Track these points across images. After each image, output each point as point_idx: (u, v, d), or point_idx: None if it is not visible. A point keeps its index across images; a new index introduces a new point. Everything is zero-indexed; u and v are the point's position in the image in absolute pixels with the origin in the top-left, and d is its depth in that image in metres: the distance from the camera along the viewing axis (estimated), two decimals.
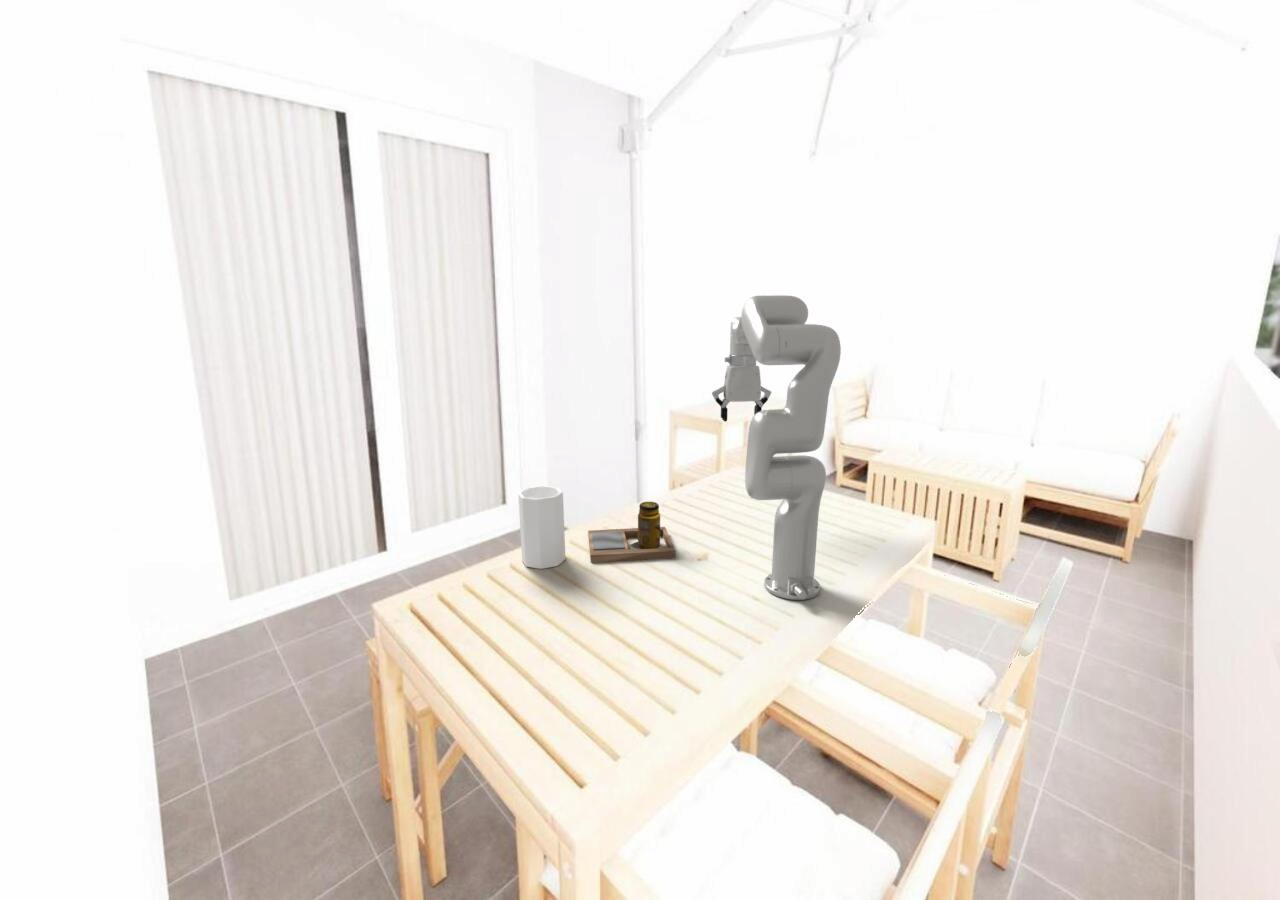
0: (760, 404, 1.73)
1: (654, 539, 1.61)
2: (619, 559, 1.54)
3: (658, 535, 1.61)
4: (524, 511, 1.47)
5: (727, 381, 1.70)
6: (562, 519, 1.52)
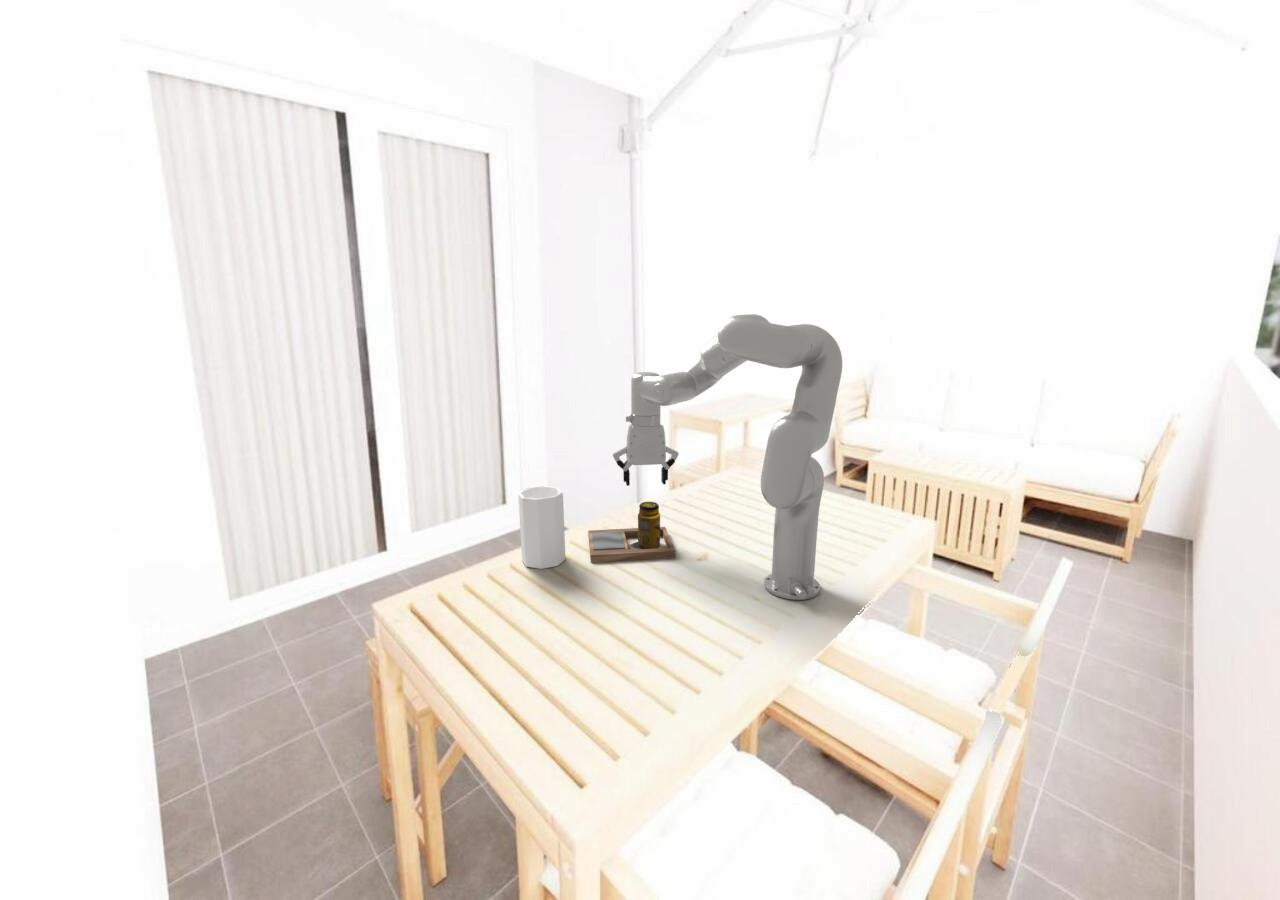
0: (666, 467, 1.57)
1: (654, 539, 1.61)
2: (619, 559, 1.54)
3: (658, 535, 1.61)
4: (524, 511, 1.47)
5: (628, 443, 1.54)
6: (562, 519, 1.52)
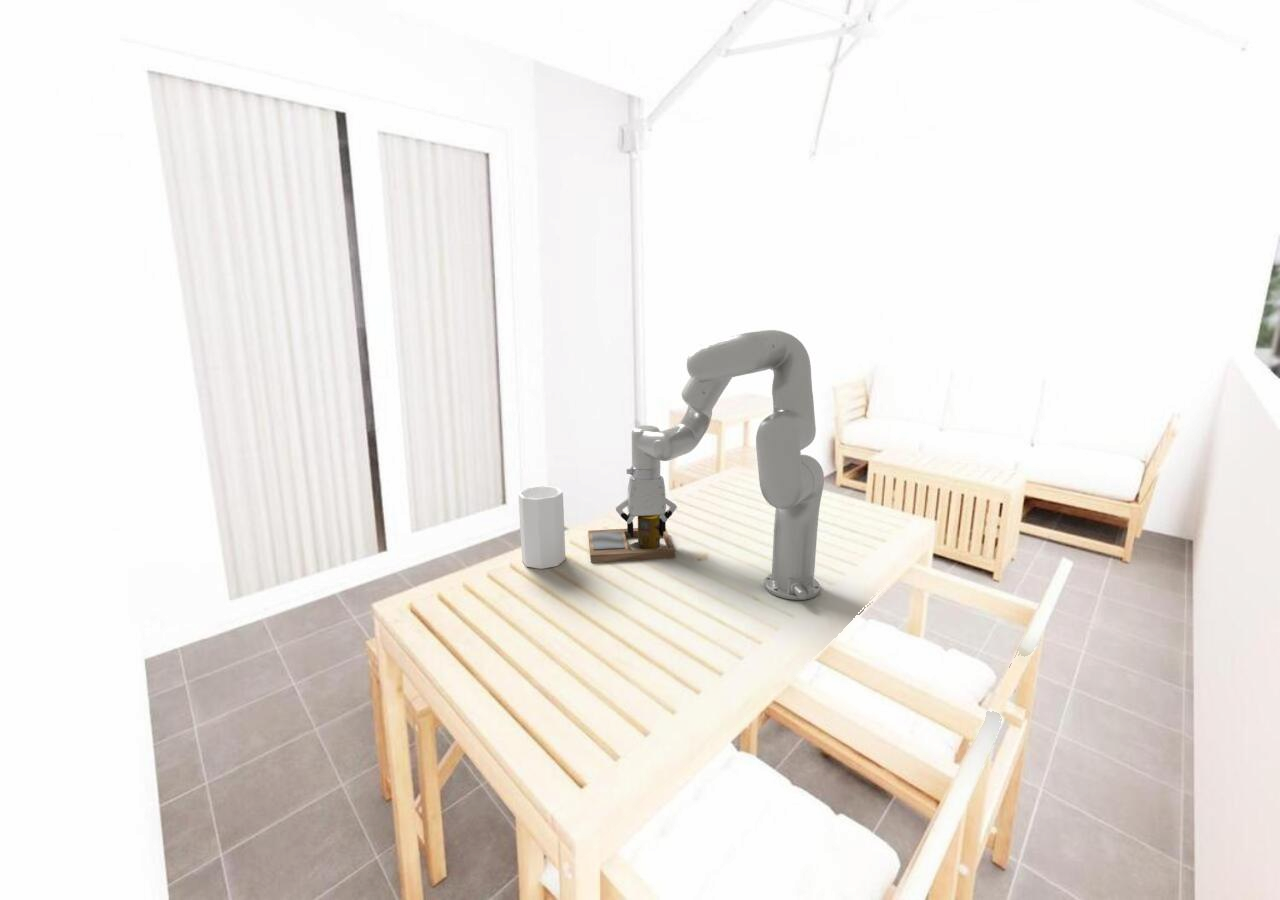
0: (663, 519, 1.61)
1: (654, 539, 1.61)
2: (619, 559, 1.54)
3: (658, 535, 1.61)
4: (524, 511, 1.47)
5: (629, 495, 1.57)
6: (562, 519, 1.52)
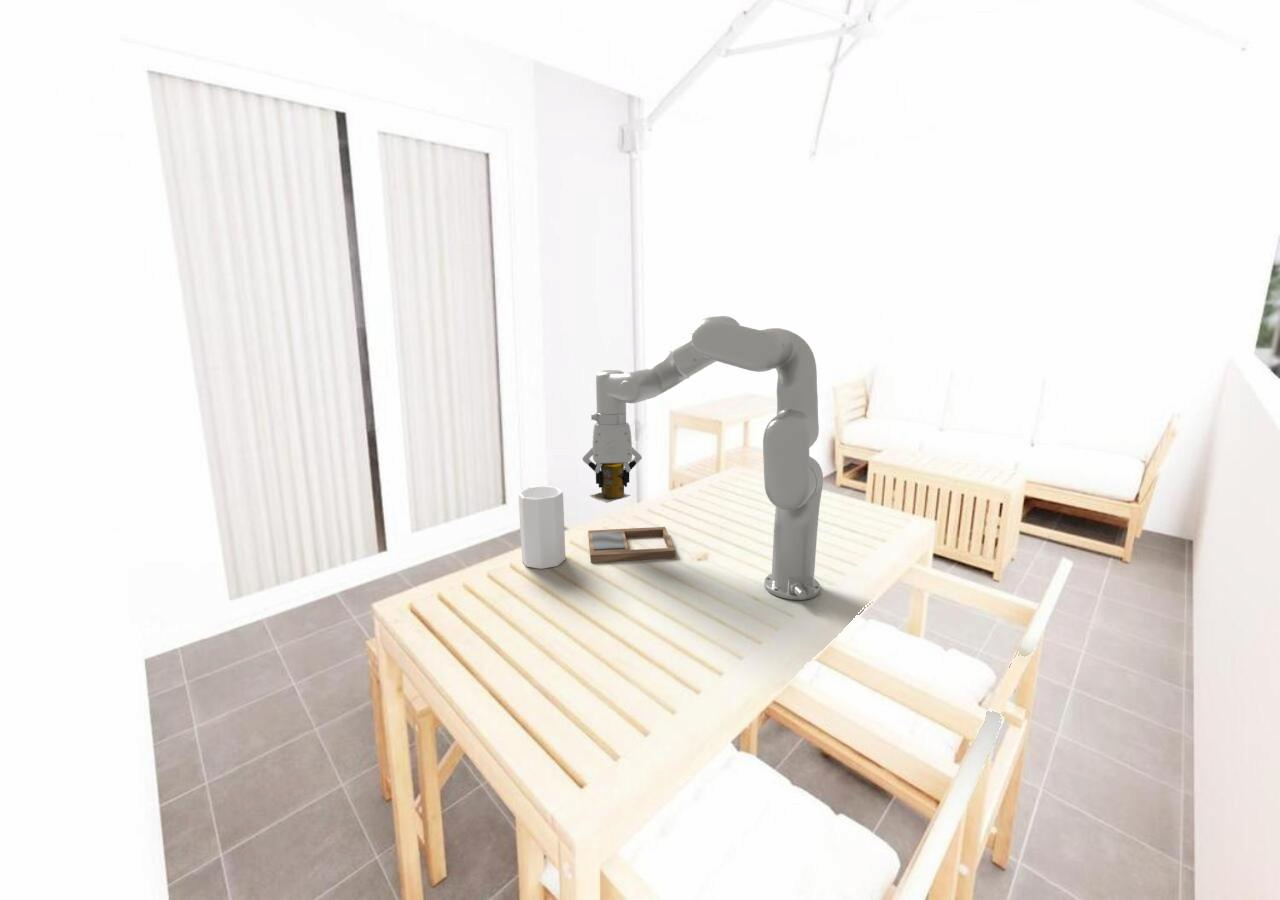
0: (627, 469, 1.56)
1: (617, 488, 1.56)
2: (619, 559, 1.54)
3: (621, 484, 1.57)
4: (524, 511, 1.47)
5: (593, 441, 1.53)
6: (562, 519, 1.52)
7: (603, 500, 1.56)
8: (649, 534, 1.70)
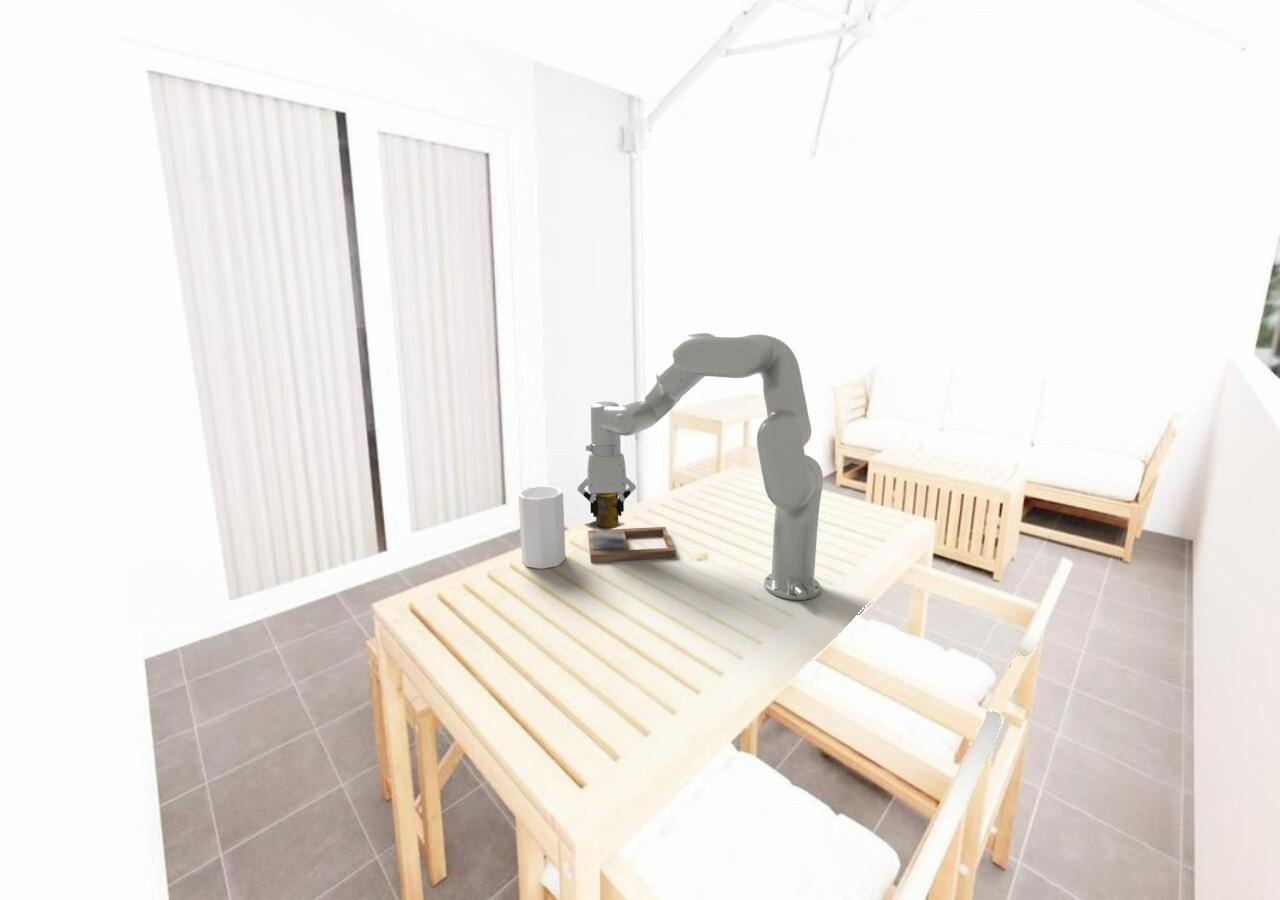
0: (621, 499, 1.58)
1: (611, 518, 1.58)
2: (619, 559, 1.54)
3: (616, 513, 1.59)
4: (524, 511, 1.47)
5: (588, 472, 1.54)
6: (562, 519, 1.52)
7: (598, 529, 1.57)
8: (649, 534, 1.70)
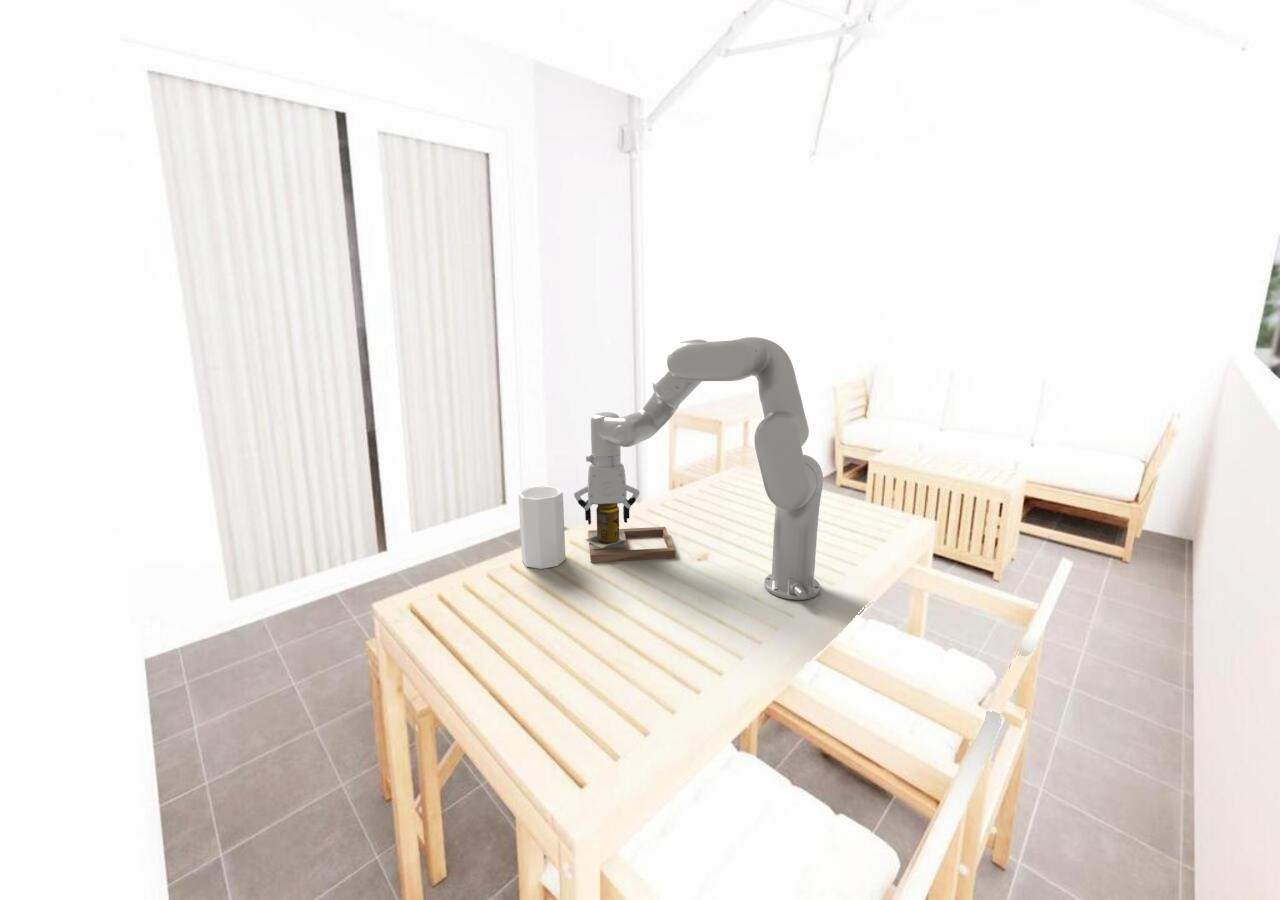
0: (627, 505, 1.59)
1: (612, 533, 1.59)
2: (619, 559, 1.54)
3: (617, 529, 1.60)
4: (524, 511, 1.47)
5: (588, 482, 1.55)
6: (562, 519, 1.52)
7: (599, 544, 1.58)
8: (649, 534, 1.70)
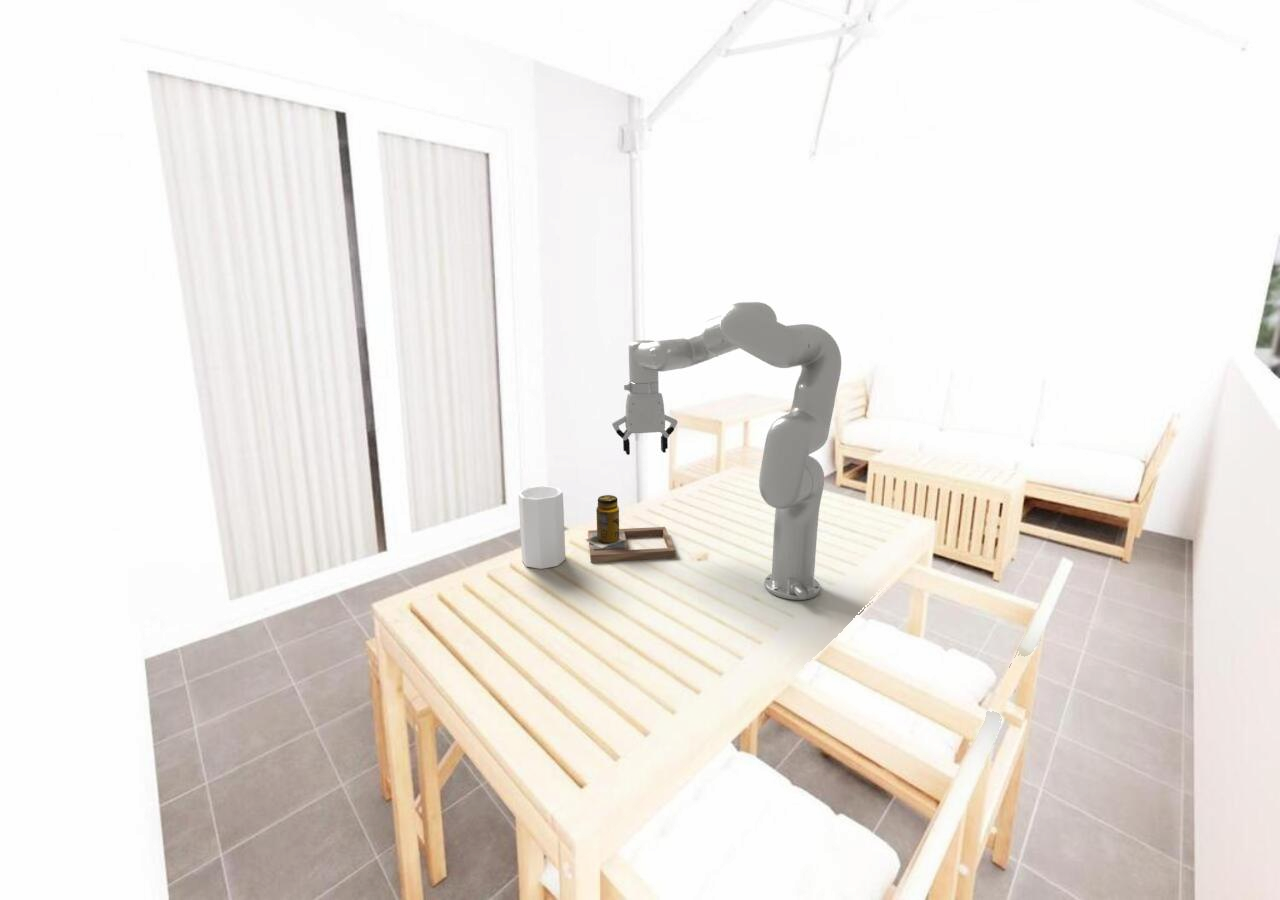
0: (665, 435, 1.58)
1: (612, 533, 1.59)
2: (619, 559, 1.54)
3: (617, 529, 1.60)
4: (524, 511, 1.47)
5: (627, 411, 1.54)
6: (562, 519, 1.52)
7: (599, 544, 1.58)
8: (649, 534, 1.70)
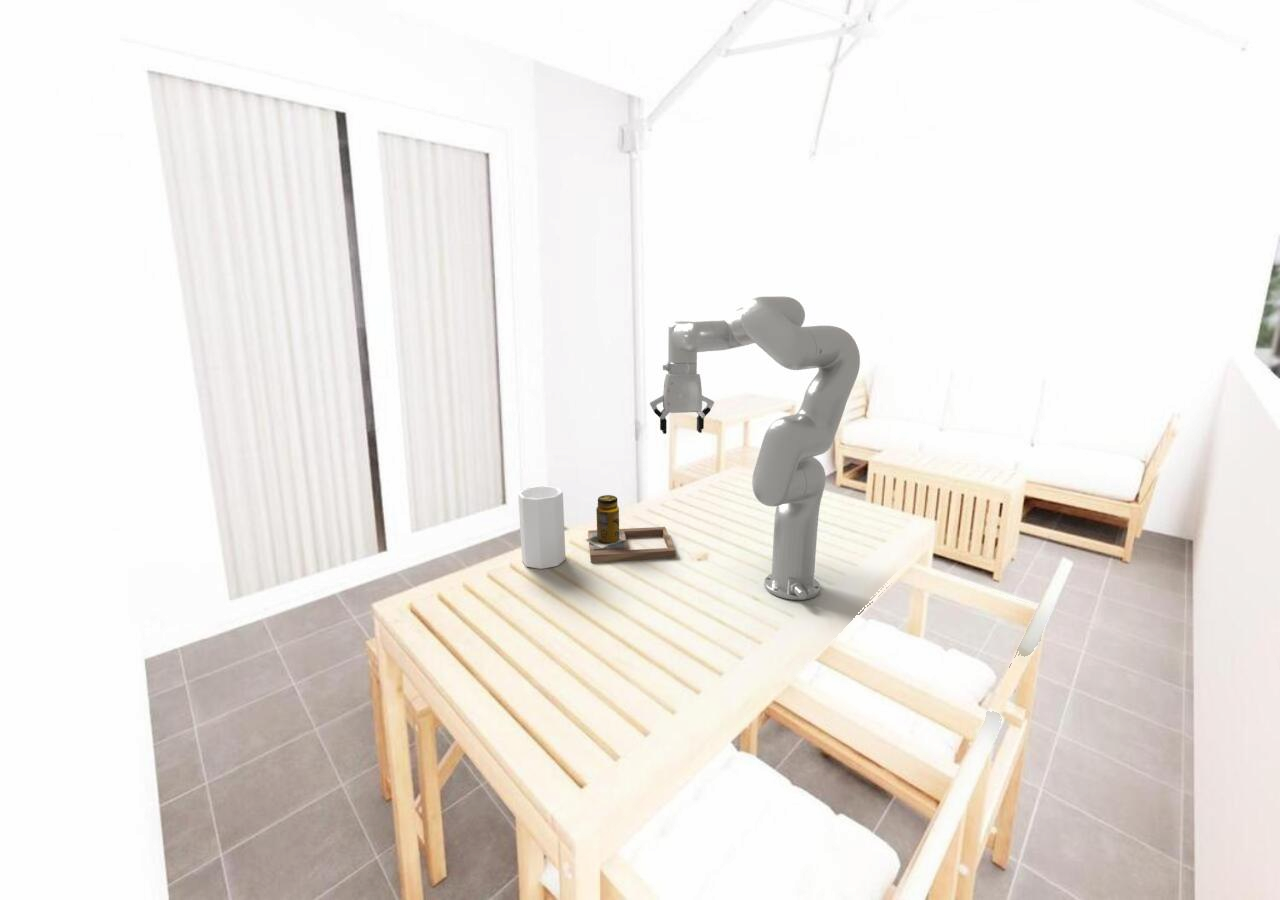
0: (702, 415, 1.61)
1: (612, 533, 1.59)
2: (619, 559, 1.54)
3: (617, 529, 1.60)
4: (524, 511, 1.47)
5: (665, 391, 1.57)
6: (562, 519, 1.52)
7: (599, 544, 1.58)
8: (649, 534, 1.70)
